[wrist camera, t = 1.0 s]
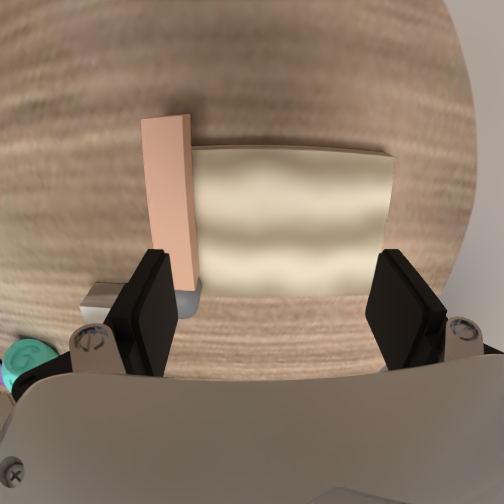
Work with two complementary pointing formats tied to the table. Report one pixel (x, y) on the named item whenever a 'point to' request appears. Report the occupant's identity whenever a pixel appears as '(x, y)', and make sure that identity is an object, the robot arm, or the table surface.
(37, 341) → the decorative dice
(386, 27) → the table surface
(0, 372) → the spatula
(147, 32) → the table surface
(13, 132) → the table surface
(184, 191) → the stool leg
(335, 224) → the stool seat
